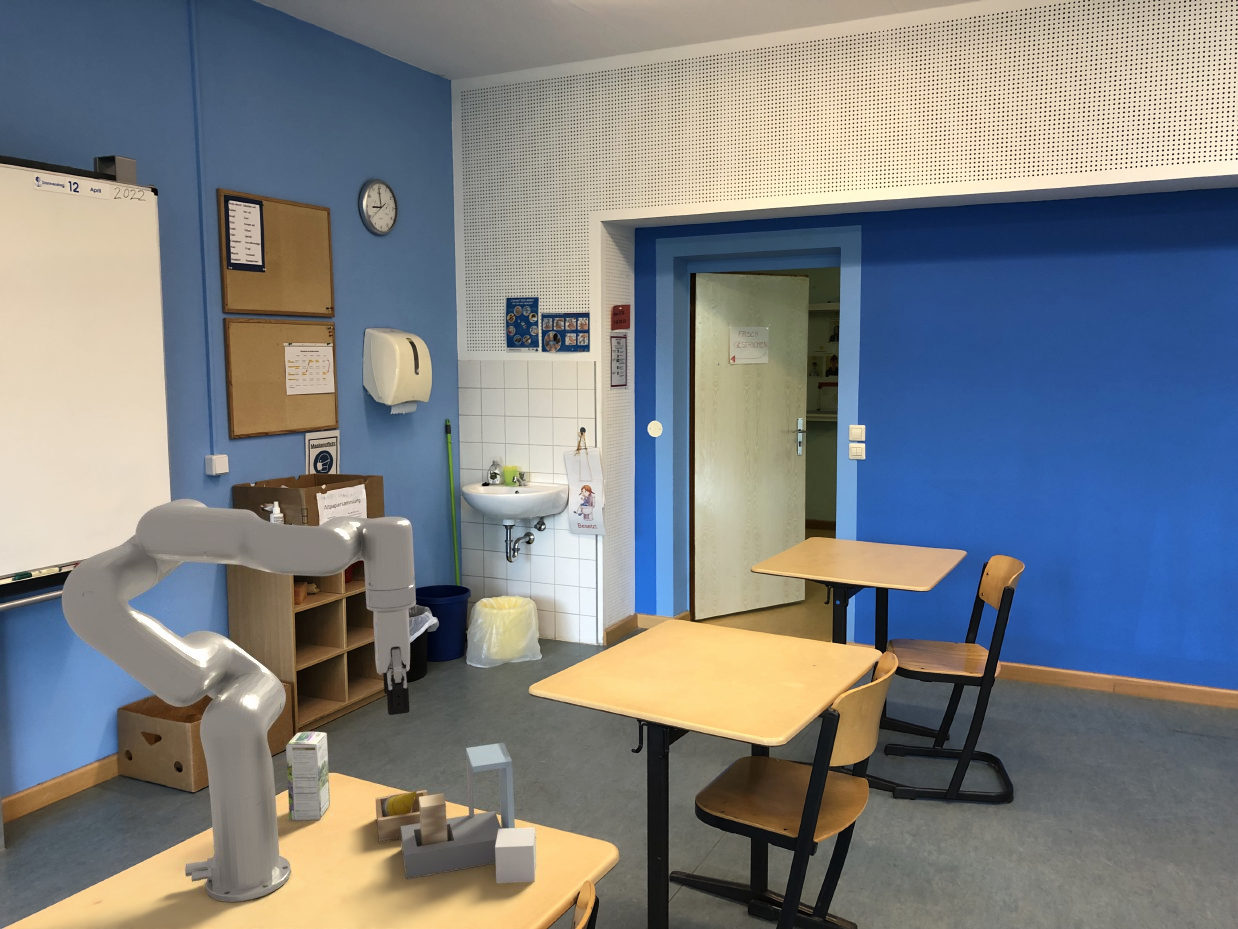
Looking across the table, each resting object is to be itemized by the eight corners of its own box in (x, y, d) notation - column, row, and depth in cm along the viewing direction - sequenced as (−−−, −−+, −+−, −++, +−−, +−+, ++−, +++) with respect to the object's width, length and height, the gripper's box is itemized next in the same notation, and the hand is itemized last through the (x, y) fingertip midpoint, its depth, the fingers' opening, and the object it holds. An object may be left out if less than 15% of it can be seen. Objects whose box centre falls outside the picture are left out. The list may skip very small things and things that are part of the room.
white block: (499, 863, 154) (498, 828, 153) (536, 862, 154) (535, 827, 154) (496, 883, 148) (495, 847, 147) (534, 882, 148) (533, 845, 148)
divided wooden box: (379, 842, 162) (377, 820, 161) (376, 818, 170) (375, 797, 170) (432, 833, 164) (431, 811, 164) (427, 810, 173) (426, 789, 172)
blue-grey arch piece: (476, 860, 155) (472, 766, 153) (469, 837, 163) (465, 748, 161) (515, 853, 157) (512, 760, 155) (507, 830, 165) (503, 742, 163)
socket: (406, 879, 150) (405, 855, 149) (401, 848, 159) (400, 826, 159) (506, 861, 154) (505, 838, 154) (495, 832, 164) (494, 810, 164)
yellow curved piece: (404, 813, 172) (433, 786, 167) (396, 838, 167) (425, 811, 163) (379, 800, 170) (407, 772, 166) (370, 825, 166) (399, 796, 161)
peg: (423, 866, 154) (420, 807, 153) (421, 854, 157) (418, 797, 156) (448, 862, 155) (445, 803, 154) (445, 850, 159) (443, 793, 158)
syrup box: (300, 806, 176) (295, 731, 174) (331, 805, 176) (326, 731, 174) (289, 821, 170) (284, 744, 169) (321, 820, 170) (316, 743, 169)
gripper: (364, 587, 154) (369, 688, 156) (368, 612, 138) (374, 725, 139) (410, 582, 156) (415, 682, 158) (420, 607, 140) (426, 718, 142)
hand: (396, 702), depth 149 cm, fingers open, 9 cm apart
